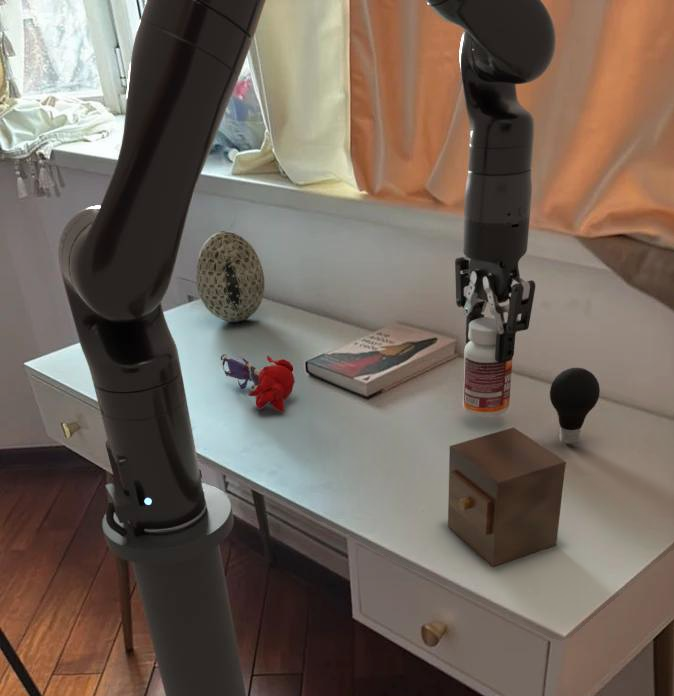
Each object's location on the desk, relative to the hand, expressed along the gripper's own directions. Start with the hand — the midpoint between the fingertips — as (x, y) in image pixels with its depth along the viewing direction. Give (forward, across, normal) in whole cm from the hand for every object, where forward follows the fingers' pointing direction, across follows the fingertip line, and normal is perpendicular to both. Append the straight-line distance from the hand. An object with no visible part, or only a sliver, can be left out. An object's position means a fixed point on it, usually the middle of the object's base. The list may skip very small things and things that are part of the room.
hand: (488, 352), depth 108 cm
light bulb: (+10, +11, +5) cm, 16 cm away
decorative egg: (+10, -58, -15) cm, 61 cm away
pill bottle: (+8, 0, 0) cm, 8 cm away
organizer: (+10, +24, -14) cm, 29 cm away
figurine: (+10, -24, -24) cm, 35 cm away
